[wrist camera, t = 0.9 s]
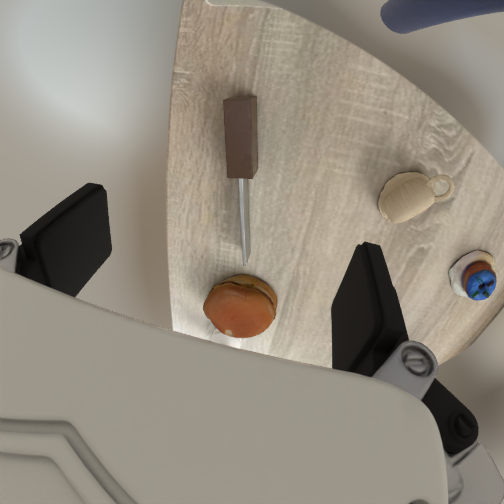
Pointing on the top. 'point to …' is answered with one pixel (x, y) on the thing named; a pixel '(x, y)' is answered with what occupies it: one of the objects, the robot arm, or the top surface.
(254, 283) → the burger
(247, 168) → the knife
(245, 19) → the top surface
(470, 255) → the dessert
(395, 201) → the decorative ornament
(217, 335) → the chess pawn
